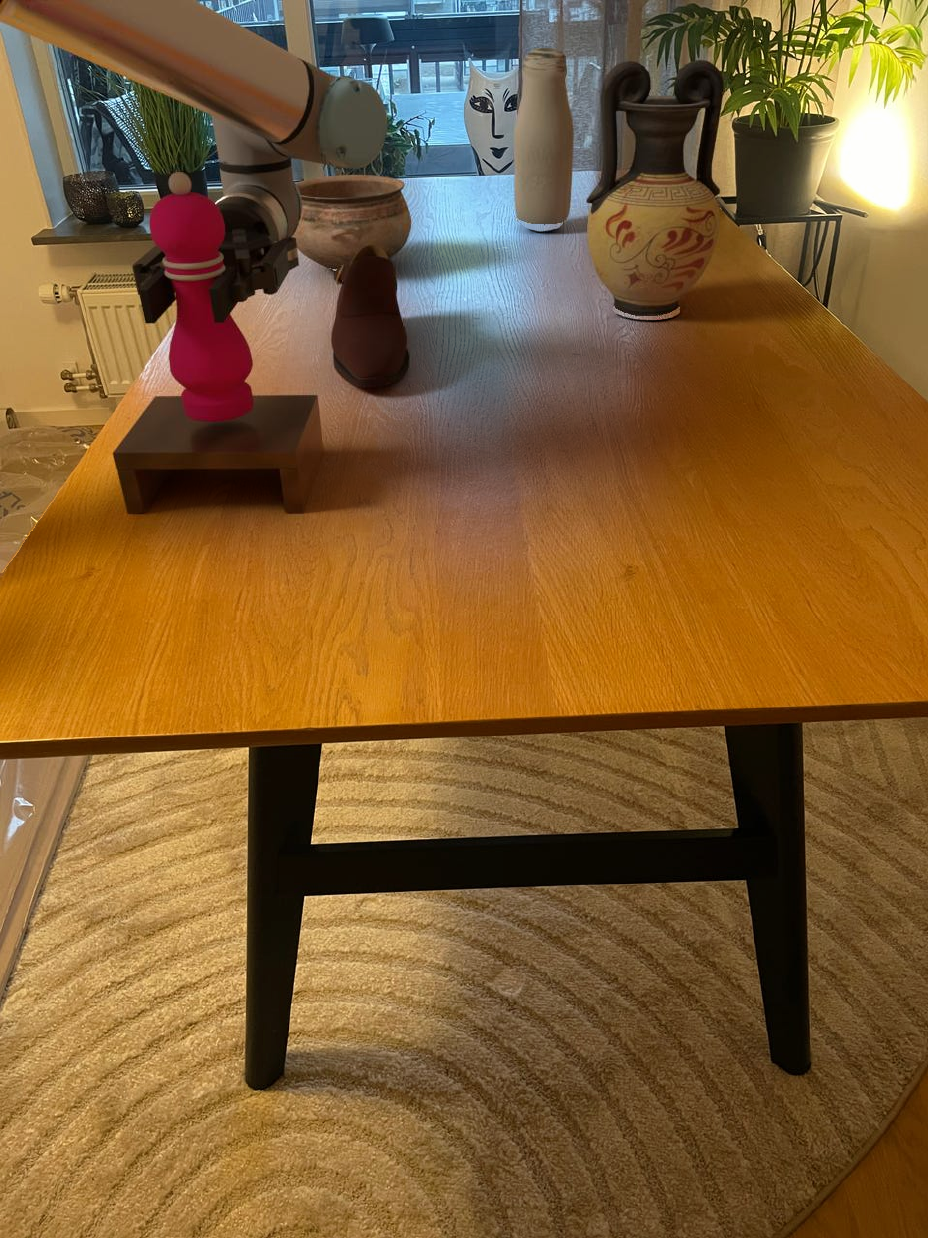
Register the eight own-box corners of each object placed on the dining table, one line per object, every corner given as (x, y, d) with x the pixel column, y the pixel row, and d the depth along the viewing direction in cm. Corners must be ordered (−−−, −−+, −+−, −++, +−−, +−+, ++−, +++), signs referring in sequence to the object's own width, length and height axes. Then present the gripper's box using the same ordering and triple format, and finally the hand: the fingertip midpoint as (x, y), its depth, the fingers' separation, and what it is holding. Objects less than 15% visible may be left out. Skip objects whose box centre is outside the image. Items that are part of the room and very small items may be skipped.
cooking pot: (414, 289, 144) (410, 201, 137) (286, 294, 143) (275, 205, 136) (411, 246, 164) (408, 168, 157) (299, 250, 163) (291, 172, 156)
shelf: (127, 513, 88) (112, 452, 84) (167, 452, 98) (155, 395, 95) (303, 513, 87) (295, 451, 84) (323, 451, 98) (317, 394, 94)
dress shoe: (331, 401, 109) (320, 296, 102) (336, 322, 132) (327, 232, 125) (413, 397, 109) (408, 292, 103) (404, 319, 132) (399, 229, 125)
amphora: (675, 288, 142) (699, 51, 125) (733, 322, 129) (770, 62, 111) (562, 300, 138) (572, 57, 121) (611, 337, 125) (629, 70, 107)
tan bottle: (573, 224, 175) (580, 44, 159) (564, 238, 167) (572, 50, 151) (519, 222, 177) (521, 45, 161) (508, 236, 169) (509, 50, 153)
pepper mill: (175, 428, 85) (125, 183, 74) (182, 397, 91) (136, 166, 80) (258, 421, 86) (221, 178, 75) (259, 391, 92) (225, 161, 81)
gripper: (335, 272, 99) (298, 350, 80) (161, 274, 100) (82, 352, 80) (328, 193, 95) (286, 256, 76) (146, 196, 95) (59, 259, 76)
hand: (181, 306), depth 78 cm, fingers closed on pepper mill, 5 cm apart
